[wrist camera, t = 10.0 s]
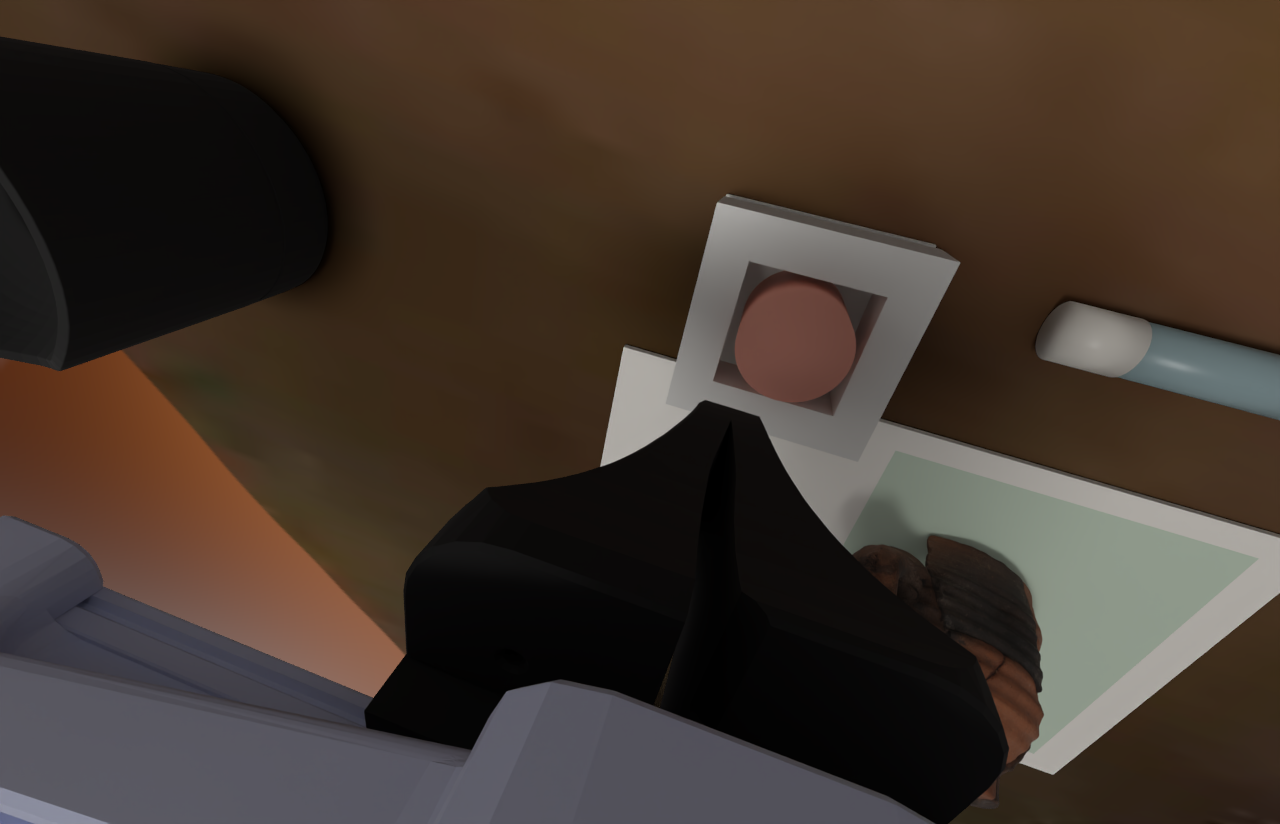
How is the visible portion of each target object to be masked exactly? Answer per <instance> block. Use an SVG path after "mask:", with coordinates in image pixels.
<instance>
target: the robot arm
mask: <svg viewBox="0 0 1280 824" xmlns="http://www.w3.org/2000/svg"><path fill="white" fill-rule="evenodd" d="M404 611H405V632H406V652H407V654H406V655H405V657H404V658H403V659H402V661H401V662H400V663H399V665H398V666H397V667H396V669H395V670H394V671H393V673H392V674H391V675H390V677H389V678H388V679H387V681H386V682H385V683H384V685H383V686H382V687H381V689H380V690H379V691H378V693H377V694H376V695H375V697H374V698H372V697H370V696H367V695H365V694H362V693H360V692H358V691H355V690H353V689H350V688H348V687H346V686H343V685H341V684H338V683H336V682H333V681H331V680H328V679H326V678H324V677H321V676H319V675H316V674H314V673H312V672H309V671H307V670H304V669H302V668H299V667H297V666H294V665H292V664H290V663H287V662H285V661H282V660H280V659H278V658H275V657H273V656H270V655H268V654H265V653H263V652H260V651H258V650H255V649H253V648H251V647H249V646H246V645H243V644H241V643H239V642H236V641H234V640H231V639H229V638H227V637H224V636H222V635H219V634H217V633H215V632H212V631H210V630H207V629H205V628H202V627H200V626H198V625H195V624H193V623H190V622H188V621H185V620H183V619H181V618H178V617H176V616H173V615H171V614H168V613H166V612H163V611H161V610H158V609H156V608H154V607H151V606H149V605H147V604H144V603H142V602H139V601H137V600H135V599H132V598H130V597H127V596H125V595H122V594H120V593H117V592H115V591H113V590H110V589H108V588H105V587H103V579H102V576H101V573H100V570H99V568H98V566H97V564H96V562H95V561H94V559H93V558H92V557H91V555H90V554H89V553H88V552H87V551H86V550H85V549H84V548H83V547H81V546H80V545H79V544H77V543H76V542H74V541H72V540H70V539H69V538H66V537H64V536H61V535H59V534H56V533H54V532H51V531H49V530H46V529H44V528H42V527H39V526H37V525H34V524H32V523H29V522H27V521H24V520H22V519H19V518H17V517H13V516H2V517H0V824H948V823H949V822H950V821H952V820H953V819H954V818H955V817H956V816H957V815H959V814H960V813H961V812H962V811H963V810H964V809H966V808H967V807H968V806H969V805H970V804H971V803H973V802H974V801H975V800H976V799H977V798H978V797H979V796H981V795H982V794H983V793H984V792H985V791H986V790H988V789H989V788H990V787H991V786H992V784H993V783H994V782H995V781H996V779H997V778H998V777H999V776H1000V774H1001V773H1002V772H1003V770H1004V769H1005V767H1006V762H1007V757H1008V752H1009V746H1008V742H1007V739H1006V735H1005V732H1004V728H1003V725H1002V722H1001V719H1000V717H999V714H998V711H997V708H996V705H995V703H994V700H993V697H992V694H991V691H990V689H989V686H988V684H987V681H986V679H985V676H984V674H983V671H982V669H981V667H980V665H979V662H978V660H977V658H976V656H975V655H974V654H972V653H971V652H969V651H968V650H967V649H965V648H964V647H963V646H961V645H960V644H959V643H957V642H956V641H955V640H953V639H952V638H950V637H949V636H948V635H946V634H945V633H944V632H942V631H941V630H940V629H938V628H937V627H936V626H934V625H933V624H931V623H930V622H929V621H927V620H926V619H925V618H923V617H922V616H921V615H919V614H918V613H917V612H915V611H914V610H913V609H912V608H910V607H909V606H908V605H907V604H906V603H904V602H903V601H902V600H901V599H900V598H899V597H897V596H896V595H895V594H894V593H893V592H891V591H890V590H889V589H888V588H887V587H886V586H884V585H883V584H882V583H881V582H880V581H879V580H878V579H877V578H876V577H874V576H873V575H872V574H871V573H870V572H869V571H868V570H867V569H866V568H865V567H864V566H863V565H862V564H861V563H860V562H859V561H858V560H857V559H856V558H855V557H854V556H853V555H852V554H851V553H850V552H849V551H848V550H847V549H846V548H845V547H844V546H843V545H842V544H841V543H840V542H839V541H838V540H837V539H836V537H835V536H834V535H833V534H832V533H831V532H830V531H829V530H828V528H827V527H826V526H825V525H824V523H823V522H822V521H821V520H820V518H819V517H818V516H817V515H816V514H815V512H814V511H813V510H812V509H811V507H810V506H809V504H808V503H807V502H806V500H805V499H804V498H803V496H802V495H801V493H800V492H799V490H798V488H797V487H796V485H795V484H794V482H793V481H792V479H791V478H790V476H789V474H788V473H787V471H786V469H785V467H784V466H783V464H782V462H781V460H780V458H779V456H778V454H777V452H776V450H775V448H774V446H773V444H772V442H771V440H770V438H769V436H768V433H767V431H766V429H765V427H764V425H763V422H762V420H761V418H760V416H757V415H753V414H750V413H747V412H744V411H740V410H737V409H734V408H730V407H727V406H724V405H721V404H717V403H714V402H711V401H708V400H704V401H702V402H699V403H698V405H697V406H696V407H695V409H694V410H693V411H692V412H691V413H690V414H688V415H687V416H686V417H685V418H684V419H683V420H682V421H680V422H679V423H678V424H677V425H675V426H674V427H673V428H672V429H670V430H669V431H668V432H666V433H665V434H663V435H662V436H660V437H659V438H657V439H656V440H654V441H653V442H651V443H649V444H648V445H646V446H645V447H643V448H641V449H639V450H638V451H636V452H634V453H632V454H630V455H628V456H626V457H624V458H621V459H619V460H617V461H615V462H612V463H610V464H607V465H604V466H601V467H598V468H595V469H592V470H589V471H586V472H583V473H579V474H575V475H571V476H567V477H563V478H558V479H553V480H548V481H542V482H536V483H527V484H518V485H509V486H500V487H487V488H485V489H484V490H483V491H482V492H481V493H480V494H478V495H477V496H476V497H475V498H474V499H473V500H472V501H470V502H469V503H468V504H467V505H465V506H464V507H463V508H462V509H461V510H460V511H459V512H458V513H457V514H455V515H454V516H453V517H452V518H451V519H450V520H449V521H448V522H447V523H446V525H445V526H444V527H443V528H442V529H441V530H440V531H439V532H438V533H437V535H436V536H435V537H434V538H433V539H432V540H431V541H430V542H429V543H428V545H427V546H426V547H425V548H424V549H423V550H422V551H421V552H420V553H419V555H418V556H417V557H416V558H415V559H414V561H413V563H412V564H411V566H410V567H409V569H408V571H407V572H406V577H405V584H404ZM673 653H674V655H673ZM672 655H673V659H672V663H671V667H670V671H669V675H668V679H667V683H666V686H665V690H664V694H663V698H662V702H661V706H660V708H658V707H655V706H653V704H654V702H655V699H656V697H657V694H658V691H659V689H660V686H661V684H662V681H663V679H664V676H665V673H666V671H667V668H668V666H669V663H670V661H671V658H672Z"/></svg>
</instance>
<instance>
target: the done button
mask: <svg viewBox="0 0 1280 824" xmlns="http://www.w3.org/2000/svg"><path fill="white" fill-rule="evenodd" d="M855 353H856V337H855V333H854V329H853V326H852V323H851V320H850V318H849V315H848V312H847V309H846V306H845V303H844V300H843V298H842V295H841V294H840V292H839V290H838V289H837V288H836V286H835V285H834V284H833V283H831V282H827V281H823V280H819V279H815V278H811V277H808V276H804V275H800V274H796V273H792V272H788V271H781V272H778V273H775V274H773V275H771V276H769V277H768V278H766V279H764V280H763V281H762V282H761V283H759V284H758V285H757V286H756V287H755V289H754V290H753V291H752V292H751V294H750V295H749V297H748V299H747V301H746V304H745V306H744V310H743V314H742V317H741V321H740V325H739V328H738V332H737V336H736V340H735V359H736V363H737V366H738V369H739V371H740V373H741V375H742V376H743V378H744V379H745V381H746V382H747V383H748V384H749V385H750V386H751V387H752V388H753V389H754V390H756V391H757V392H759V393H760V394H762V395H764V396H766V397H768V398H771V399H774V400H777V401H782V402H804V401H808V400H812V399H815V398H818V397H820V396H822V395H824V394H826V393H828V392H829V391H831V390H833V389H834V388H835V387H836V386H837V385H838V384H839V383H840V382H841V381H842V380H843V379H844V378H845V376H846V375H847V374H848V372H849V370H850V368H851V366H852V364H853V361H854V358H855Z"/></svg>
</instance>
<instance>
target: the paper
mask: <svg viewBox="0 0 1280 824" xmlns="http://www.w3.org/2000/svg"><path fill="white" fill-rule="evenodd" d="M676 361H677V359H674V358H670V357H667V356H664V355H660V354H657V353H653V352H650V351H646V350H643V349H640V348H636V347H633V346H629V345H625V346H624V348H623V353H622V358H621V364H620V369H619V374H618V379H617V384H616V389H615V394H614V400H613V405H612V410H611V415H610V420H609V425H608V430H607V435H606V441H605V446H604V451H603V456H602V461H601V466H604V465H607V464H610V463H612V462H615V461H617V460H619V459H621V458H624V457H626V456H628V455H630V454H632V453H634V452H636V451H638V450H639V449H641V448H643V447H645V446H646V445H648V444H649V443H651V442H653V441H654V440H656V439H657V438H659V437H660V436H662V435H663V434H665V433H666V432H668V431H669V430H670V429H672V428H673V427H674V426H675V425H677V424H678V423H679V422H680V421H682V420H683V419H684V418H685V417H686V416H687V415H688V414H690V413H691V411H688V410H684V409H681V408H678V407H675V406H671V405H668V404H666V400H667V396H668V392H669V388H670V384H671V380H672V377H673V373H674V369H675V365H676ZM768 436H769V438H770V440H771V442H772V444H773V446H774V448H775V450H776V452H777V454H778V456H779V458H780V460H781V462H782V464H783V466H784V467H785V469H786V471H787V473H788V474H789V476H790V478H791V479H792V481H793V482H794V484H795V485H796V487H797V488H798V490H799V492H800V493H801V495H802V496H803V498H804V499H805V500H806V502H807V503H808V504H809V506H810V507H811V509H812V510H813V511H814V512H815V514H816V515H817V516H818V517H819V518H820V520H821V521H822V522H823V523H824V525H825V526H826V527H827V528H828V530H829V531H830V532H831V533H832V534H833V535H834V536H835V537H836V539H837V540H838V541H839V542H840V543H841V544H842V545H843V546H844V547H845V548H846V549H847V550H848V551H849V552H850V553H851V554H854V553H855V552H856V551H858V550H860V549H861V548H862V547H864V546H867V545H880V544H884V545H887V546H893V547H896V548H899V549H902V550H905V551H907V552H909V553H910V554H912V555H913V556H915V557H916V558H917V559H918V560H919V561H920V562H921V563H922V564H923V565H924V566H925V561H926V555H927V554H928V550H927V539H928V537H929V536H932V535H933V536H938V537H942V538H946V539H950V540H953V541H956V542H959V543H961V544H966V545H969V546H972V547H974V548H976V549H978V550H980V551H983V552H985V553H987V554H988V555H989V556H991V557H993V558H994V559H996V560H998V561H1001V562H1003V563H1004V564H1005V565H1006V566H1007V567H1008V568H1009V569H1010V570H1012V571H1013V572H1015V573H1016V574H1017V575H1018V576H1019V577H1020V578H1021V579H1022V581H1023V582H1024V583H1025V584H1026V586H1027V587H1028V588H1029V590H1030V593H1031V595H1032V607H1033V609H1034V613H1035V618H1036V620H1037V623H1038V625H1039V627H1040V629H1041V634H1042V645H1041V648H1040V651H1039V653H1040V655H1041V661H1040V668H1041V670H1042V672H1043V680H1042V683H1041V685H1042V692H1040V693H1038V700H1039V703H1040V705H1041V707H1042V710H1043V713H1044V717H1043V718H1042V721H1041V723H1040V725H1039V737H1038V738H1037V739H1036V740H1035V741H1033V742H1032V743H1031V748H1030V750H1029V751H1028V752H1027V753H1026V754H1025V756H1024V758H1023V759H1022V761H1021V762H1019V763H1022V764H1025V765H1027V766H1030V767H1033V768H1036V769H1038V770H1041V771H1044V772H1047V773H1049V774H1052V775H1053V774H1055V773H1056V772H1057V771H1058V770H1060V769H1061V768H1062V767H1063V766H1065V765H1066V764H1067V763H1068V762H1070V761H1071V760H1072V759H1073V758H1075V757H1076V756H1077V755H1078V754H1080V753H1081V752H1082V751H1083V750H1084V749H1086V748H1087V747H1088V746H1089V745H1091V744H1092V743H1093V742H1094V741H1096V740H1097V739H1098V738H1099V737H1101V736H1102V735H1103V734H1104V733H1106V732H1107V731H1108V730H1109V729H1111V728H1112V727H1113V726H1114V725H1116V724H1117V723H1118V722H1119V721H1121V720H1122V719H1123V718H1124V717H1126V716H1127V715H1128V714H1129V713H1131V712H1132V711H1133V710H1134V709H1136V708H1137V707H1138V706H1139V705H1141V704H1142V703H1143V702H1144V701H1145V700H1147V699H1148V698H1149V697H1150V696H1152V695H1153V694H1154V693H1155V692H1157V691H1158V690H1159V689H1160V688H1162V687H1163V686H1164V685H1165V684H1167V683H1168V682H1169V681H1170V680H1172V679H1173V678H1174V677H1175V676H1177V675H1178V674H1179V673H1180V672H1182V671H1183V670H1184V669H1185V668H1187V667H1188V666H1189V665H1190V664H1192V663H1193V662H1194V661H1195V660H1197V659H1198V658H1199V657H1200V656H1202V655H1203V654H1204V653H1205V652H1206V651H1208V650H1209V649H1210V648H1211V647H1213V646H1214V645H1215V644H1216V643H1218V642H1219V641H1220V640H1221V639H1223V638H1224V637H1225V636H1226V635H1228V634H1229V633H1230V632H1231V631H1233V630H1234V629H1235V628H1236V627H1238V626H1239V625H1240V624H1241V623H1243V622H1244V621H1245V620H1246V619H1248V618H1249V617H1250V616H1251V615H1253V614H1254V613H1255V612H1256V611H1258V610H1259V609H1260V608H1261V607H1262V606H1264V605H1265V604H1266V603H1267V602H1269V601H1270V600H1271V599H1272V598H1274V597H1275V596H1276V595H1277V594H1279V593H1280V534H1276V533H1273V532H1270V531H1266V530H1263V529H1259V528H1256V527H1252V526H1249V525H1245V524H1242V523H1239V522H1235V521H1232V520H1228V519H1225V518H1221V517H1218V516H1214V515H1211V514H1208V513H1204V512H1201V511H1197V510H1194V509H1190V508H1187V507H1183V506H1180V505H1177V504H1173V503H1170V502H1166V501H1163V500H1159V499H1156V498H1152V497H1149V496H1146V495H1142V494H1139V493H1135V492H1132V491H1128V490H1125V489H1121V488H1118V487H1115V486H1111V485H1108V484H1104V483H1101V482H1097V481H1094V480H1091V479H1087V478H1084V477H1080V476H1077V475H1073V474H1070V473H1066V472H1063V471H1060V470H1056V469H1053V468H1049V467H1046V466H1042V465H1039V464H1035V463H1032V462H1029V461H1025V460H1022V459H1018V458H1015V457H1011V456H1008V455H1004V454H1001V453H998V452H994V451H991V450H987V449H984V448H980V447H977V446H973V445H970V444H967V443H963V442H960V441H956V440H953V439H949V438H946V437H942V436H939V435H936V434H932V433H929V432H925V431H922V430H918V429H915V428H911V427H908V426H905V425H901V424H898V423H894V422H891V421H887V420H884V419H881V418H880V420H879V422H878V424H877V426H876V428H875V430H874V432H873V433H872V435H871V437H870V439H869V441H868V443H867V445H866V447H865V449H864V451H863V453H862V455H861V457H860V459H859V461H858V462H856V461H853V460H850V459H846V458H843V457H840V456H836V455H833V454H830V453H827V452H823V451H820V450H817V449H813V448H810V447H807V446H803V445H800V444H797V443H793V442H790V441H787V440H784V439H780V438H777V437H774V436H770V435H768ZM601 466H600V467H601Z"/></svg>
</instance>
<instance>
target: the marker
mask: <svg viewBox="0 0 1280 824" xmlns="http://www.w3.org/2000/svg"><path fill="white" fill-rule="evenodd" d="M1035 349H1036V354H1037V356H1038V357H1039V358H1041V359H1043V360H1047V361H1051V362H1054V363H1058V364H1062V365H1066V366H1069V367H1073V368H1077V369H1081V370H1084V371H1088V372H1092V373H1096V374H1099V375H1103V376H1107V377H1119V378H1122V379H1126V380H1130V381H1134V382H1137V383H1141V384H1145V385H1149V386H1153V387H1156V388H1160V389H1164V390H1168V391H1171V392H1175V393H1179V394H1183V395H1186V396H1190V397H1194V398H1198V399H1202V400H1205V401H1209V402H1213V403H1217V404H1220V405H1224V406H1228V407H1232V408H1235V409H1239V410H1243V411H1247V412H1251V413H1254V414H1258V415H1262V416H1266V417H1269V418H1273V419H1277V420H1280V355H1278V354H1274V353H1270V352H1266V351H1262V350H1258V349H1254V348H1250V347H1246V346H1242V345H1238V344H1234V343H1231V342H1227V341H1223V340H1219V339H1215V338H1211V337H1207V336H1203V335H1199V334H1195V333H1191V332H1187V331H1183V330H1179V329H1175V328H1171V327H1167V326H1163V325H1159V324H1155V323H1151V322H1148V321H1146V320H1144V319H1141V318H1137V317H1133V316H1129V315H1125V314H1121V313H1117V312H1113V311H1109V310H1105V309H1101V308H1097V307H1093V306H1089V305H1085V304H1081V303H1077V302H1073V301H1068V302H1065V303H1063V304H1061V305H1059V306H1058V307H1057V308H1055V309H1054V310H1053V311H1052V312H1051V313H1050V314H1049V316H1048V317H1047V318H1046V320H1045V321H1044V323H1043V324H1042V326H1041V328H1040V330H1039V332H1038V335H1037V339H1036V345H1035Z"/></svg>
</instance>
